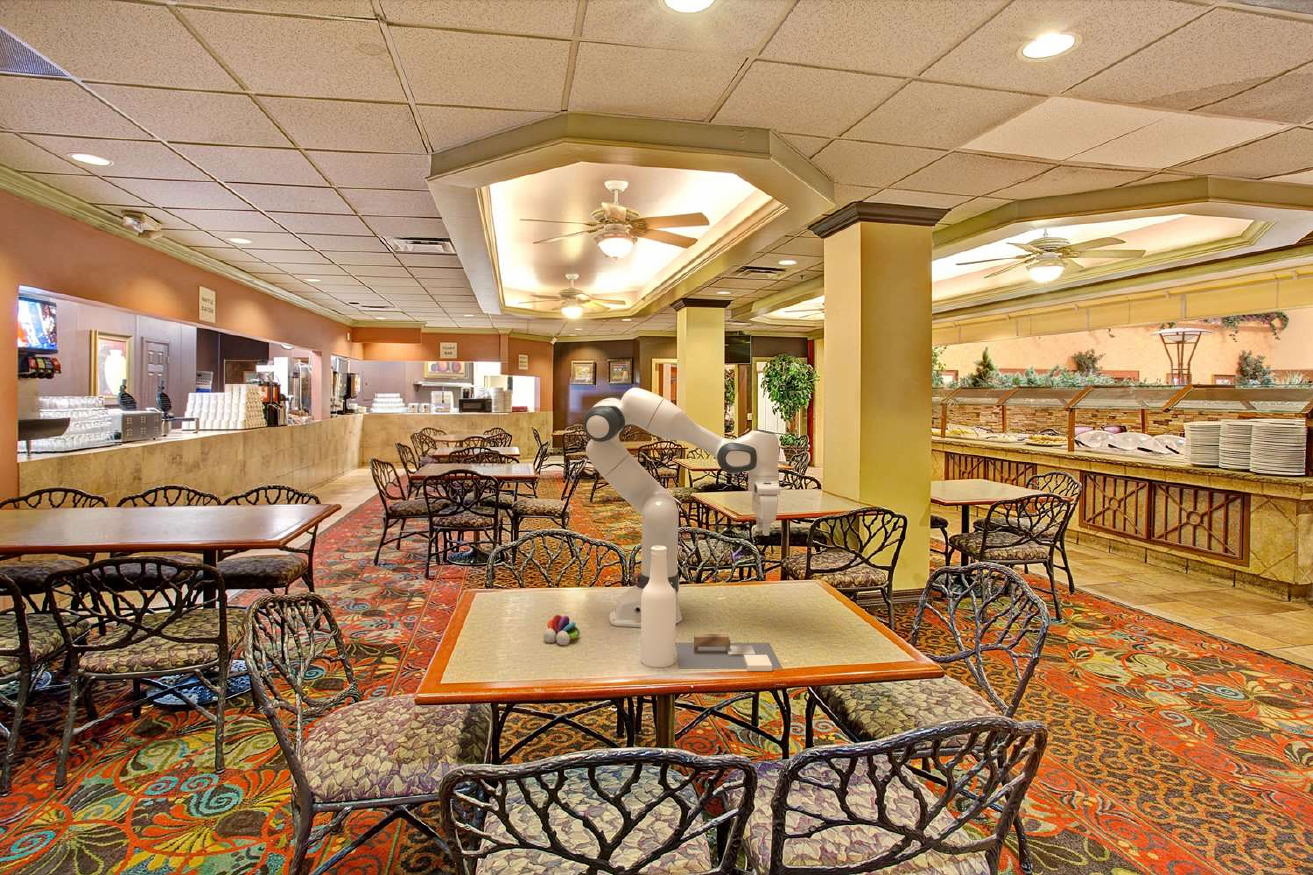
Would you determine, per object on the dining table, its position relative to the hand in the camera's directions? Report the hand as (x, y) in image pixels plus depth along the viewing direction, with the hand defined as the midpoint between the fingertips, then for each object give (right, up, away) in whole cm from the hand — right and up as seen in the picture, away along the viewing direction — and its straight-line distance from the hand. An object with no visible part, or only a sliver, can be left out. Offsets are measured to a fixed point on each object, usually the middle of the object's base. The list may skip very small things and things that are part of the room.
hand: (762, 532), depth 192 cm
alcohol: (-31, -30, -24) cm, 49 cm away
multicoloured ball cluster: (-58, -30, -8) cm, 65 cm away
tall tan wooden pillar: (-13, -29, -18) cm, 37 cm away
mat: (-13, -30, -20) cm, 38 cm away
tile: (-6, -29, -24) cm, 38 cm away
